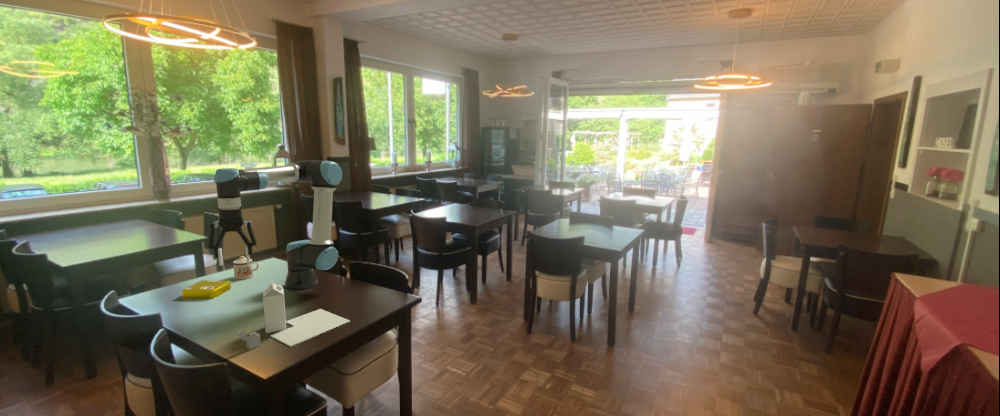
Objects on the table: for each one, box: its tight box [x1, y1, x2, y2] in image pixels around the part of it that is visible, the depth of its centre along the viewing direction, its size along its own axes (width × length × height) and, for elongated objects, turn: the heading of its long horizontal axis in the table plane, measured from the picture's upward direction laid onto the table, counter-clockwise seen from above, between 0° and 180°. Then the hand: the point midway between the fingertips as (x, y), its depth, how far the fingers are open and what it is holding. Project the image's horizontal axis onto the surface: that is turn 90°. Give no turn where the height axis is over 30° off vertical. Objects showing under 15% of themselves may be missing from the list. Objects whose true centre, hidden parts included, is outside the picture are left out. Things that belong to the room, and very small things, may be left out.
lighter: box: [236, 329, 262, 350], centre depth 150 cm, size 7×2×8 cm, turn 149°
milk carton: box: [262, 282, 287, 334], centre depth 165 cm, size 7×7×19 cm
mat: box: [269, 308, 351, 348], centre depth 168 cm, size 26×21×1 cm
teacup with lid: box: [232, 255, 260, 280], centre depth 225 cm, size 12×9×12 cm
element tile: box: [181, 279, 232, 300], centre depth 201 cm, size 15×15×5 cm
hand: (235, 263), depth 166 cm, fingers open, 9 cm apart
